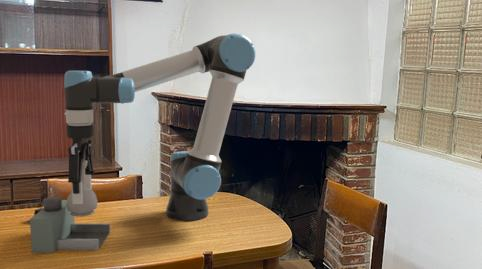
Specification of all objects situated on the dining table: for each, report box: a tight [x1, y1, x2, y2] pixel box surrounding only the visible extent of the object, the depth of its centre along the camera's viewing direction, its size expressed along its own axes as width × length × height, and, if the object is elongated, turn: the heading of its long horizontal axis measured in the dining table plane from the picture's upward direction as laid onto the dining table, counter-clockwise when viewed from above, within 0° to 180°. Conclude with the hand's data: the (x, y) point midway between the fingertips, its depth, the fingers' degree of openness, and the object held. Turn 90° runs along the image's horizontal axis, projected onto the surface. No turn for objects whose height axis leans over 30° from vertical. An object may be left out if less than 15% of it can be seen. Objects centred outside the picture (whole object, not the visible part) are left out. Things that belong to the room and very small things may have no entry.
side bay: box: [55, 222, 111, 251], centre depth 136 cm, size 12×14×3 cm
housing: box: [29, 196, 75, 254], centre depth 135 cm, size 6×18×13 cm, turn 2°
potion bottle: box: [66, 158, 99, 218], centre depth 134 cm, size 9×9×18 cm
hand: (82, 199), depth 135 cm, fingers closed on potion bottle, 8 cm apart
